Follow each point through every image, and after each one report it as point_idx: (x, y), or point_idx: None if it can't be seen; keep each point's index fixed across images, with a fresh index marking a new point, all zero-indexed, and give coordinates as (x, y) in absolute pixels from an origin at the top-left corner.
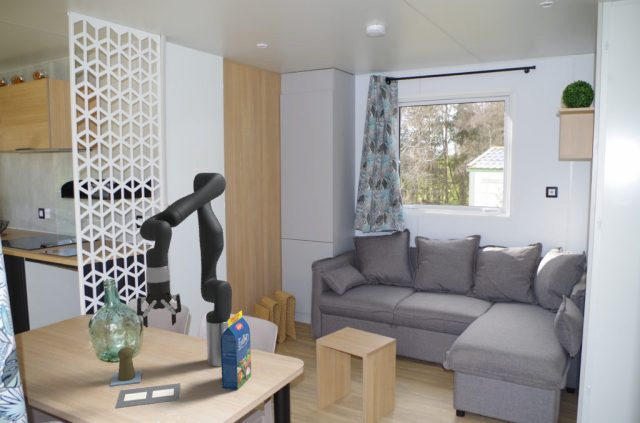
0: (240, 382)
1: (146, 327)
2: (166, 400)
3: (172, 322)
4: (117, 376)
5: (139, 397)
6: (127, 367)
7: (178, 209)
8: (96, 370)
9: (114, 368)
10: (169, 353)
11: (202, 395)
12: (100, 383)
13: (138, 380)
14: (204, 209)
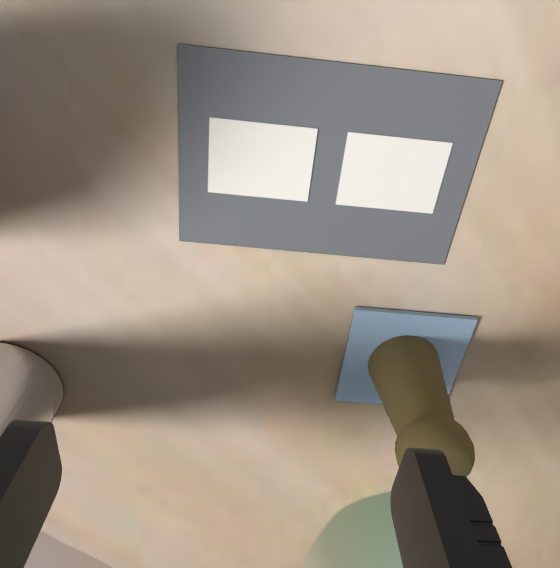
0: None
1: (423, 449)
2: (247, 65)
3: (16, 454)
4: None
5: (376, 155)
6: (414, 380)
7: None
8: (493, 455)
9: None
10: (224, 500)
11: (52, 53)
12: (504, 355)
13: (360, 322)
14: None
